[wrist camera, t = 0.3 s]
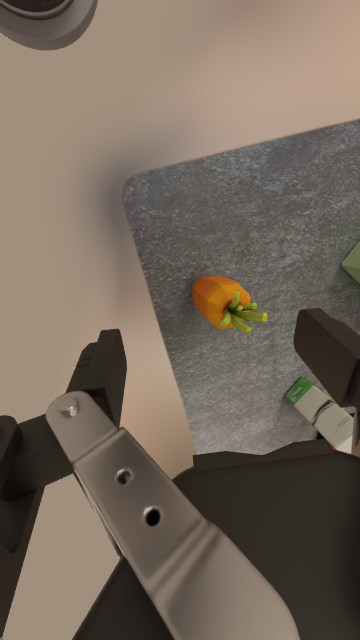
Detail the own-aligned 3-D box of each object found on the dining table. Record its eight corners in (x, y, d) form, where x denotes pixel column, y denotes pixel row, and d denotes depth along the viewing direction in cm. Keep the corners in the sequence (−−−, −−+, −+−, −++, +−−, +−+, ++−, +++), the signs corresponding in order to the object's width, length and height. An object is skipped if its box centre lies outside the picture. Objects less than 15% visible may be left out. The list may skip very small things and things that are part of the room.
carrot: (174, 295, 35) (212, 341, 21) (187, 260, 34) (236, 284, 20) (206, 306, 36) (261, 355, 23) (220, 272, 35) (287, 303, 21)
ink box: (282, 395, 45) (334, 449, 34) (302, 375, 45) (361, 423, 34) (309, 416, 49) (364, 472, 38) (328, 397, 48) (390, 448, 37)
